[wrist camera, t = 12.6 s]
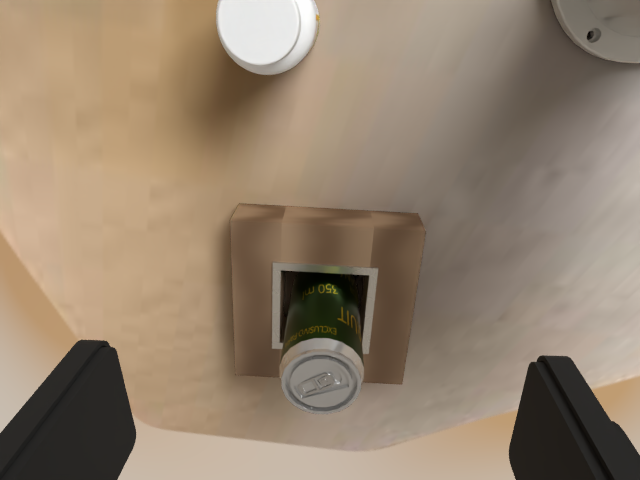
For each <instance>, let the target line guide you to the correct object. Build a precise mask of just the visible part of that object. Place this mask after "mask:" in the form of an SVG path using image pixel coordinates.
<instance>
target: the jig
mask: <svg viewBox="0 0 640 480" xmlns="http://www.w3.org/2000/svg"><path fill="white" fill-rule="evenodd" d="M425 234H426V230H425V228H424V226H423V224H422V221H421V219H420V217H419V215H418V213H400V212H382V211H364V210H346V209H328V208H310V207H292V206H274V205H256V204H239V205H238V206H237V208H236V210H235V212H234V214H233V216H232V218H231V219H230V236H231V265H232V295H233V324H234V353H235V375H246V376H263V377H280V371H279V366H280V360H281V353H282V349H272V286H273V261H274V262H291V263H309V264H327V265H345V266H362V267H378V276H377V285H376V294H375V302H374V311H373V320H372V329H371V338H370V346H369V354H363V361H364V379H363V381H362V382H367V383H384V384H402V382H403V375H404V369H405V363H406V356H407V350H408V343H409V337H410V330H411V324H412V318H413V311H414V305H415V298H416V292H417V285H418V279H419V273H420V266H421V260H422V253H423V247H424V241H425ZM368 281H369V275H364V282H363V292H362V302H361V312H360V326H361V338H363V329H364V319H365V310H366V300H367V291H368ZM284 296H285V271H284V270H281V298H280V341H284V335H285V329H286V323H287V317H284Z"/></svg>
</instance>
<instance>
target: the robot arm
mask: <svg viewBox="0 0 640 480" xmlns="http://www.w3.org/2000/svg"><path fill="white" fill-rule="evenodd" d="M551 2H552V5H553V9H554V13H555V15H556V17H557V19H558V21H559V23H560V25H561V27H562V29H563V30H564V32H565V33H566V34H567V35H568V36H569V37H570V38H571V40H572V41H573V42H574V43H575V44H576V45H578V46H579V47H581V48H582V49H583V50H585V51H586V52H588V53H589V54H592V55H594V56H597V57H599V58H602V59H604V60H610V61H616V62H625V63H640V0H551ZM589 31H590V33H591V35H590V37H589V38H588V39H587V34H588V32H589ZM135 439H136V429H135V425H134V421H133V417H132V413H131V408H130V404H129V400H128V396H127V392H126V388H125V384H124V379H123V375H122V371H121V367H120V363H119V359H118V355H117V351H116V349H115V348H113V347H110V345H109V343H108V342H107V341H100V340H80V341H78V342H77V343H76V344H75V345H74V346H73V347H72V348H71V350H70V351H69V352H68V353H67V354H66V356H65V357H64V358H63V359H62V360H61V362H60V363H59V364H58V365H57V366H56V368H55V369H54V370H53V371H52V372H51V374H50V375H49V376H48V377H47V378H46V380H45V381H44V382H43V383H42V384H41V386H40V387H39V388H38V389H37V390H36V391H35V393H34V394H33V395H32V396H31V397H30V399H29V400H28V401H27V402H26V403H25V405H24V406H23V407H22V408H21V409H20V410H19V412H18V413H17V414H16V415H15V416H14V418H13V419H12V420H11V421H10V423H9V424H8V425H7V426H6V427H5V428H4V430H3V431H2V432H1V433H0V480H117V479H118V477H119V475H120V473H121V471H122V469H123V467H124V465H125V463H126V461H127V459H128V457H129V455H130V453H131V451H132V449H133V446H134V443H135ZM509 459H510V464H511V467H512V470H513V473H514V476H515V479H516V480H640V455H639V454H638V452H637V451H636V449H635V447H634V446H633V445H632V443H631V441H630V440H629V438H628V437H627V435H626V434H625V432H624V431H623V430H622V429H621V427H620V426H619V425H618V424H616V423H615V422H613V421H611V420H610V419H609V417H608V416H607V414H606V412H605V411H604V409H603V408H602V406H601V405H600V403H599V401H598V400H597V398H596V397H595V395H594V394H593V392H592V390H591V389H590V387H589V386H588V384H587V383H586V381H585V379H584V378H583V376H582V375H581V373H580V372H579V370H578V369H577V367H576V365H575V364H574V362H573V361H572V360H571V358H569V357H567V356H539V358H538V359H537V362H531V363H530V364H529V367H528V371H527V375H526V379H525V384H524V388H523V392H522V396H521V400H520V405H519V409H518V413H517V417H516V421H515V426H514V430H513V434H512V439H511V442H510V447H509Z"/></svg>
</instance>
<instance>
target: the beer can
mask: <svg viewBox="0 0 640 480" xmlns="http://www.w3.org/2000/svg"><path fill="white" fill-rule="evenodd" d="M279 371H280V379H281V383H282V390H283V392H284V394H285V396H286V398H287V399H288V400H289V401H290V402H291V403H292V404H293V405H294V406H296V407H298V408H299V409H301V410H303V411H306V412H310V413H313V414H330V413H335V412H339V411H341V410H343V409H345V408H347V407H349V406H350V405H351V404H352V403H353V402H354V401H355V400H356V399H357V397H358V395H359V393H360V390H361V384H362V381H363V379H364V361H363V349H362V338H361V326H360V314H359V303H358V291H357V284H356V281H355V278H354V276H353V275H352V274H337V273H319V272H302V271H300V272H299V273H298V274H297V275H296V277H295V279H294V282H293V286H292V292H291V298H290V304H289V310H288V317H287V323H286V329H285V335H284V341H283V347H282V353H281V360H280V366H279Z"/></svg>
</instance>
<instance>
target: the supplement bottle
mask: <svg viewBox="0 0 640 480" xmlns="http://www.w3.org/2000/svg"><path fill="white" fill-rule="evenodd" d="M319 24H320V23H319V13H318V9H317V6H316V3H315V1H314V0H219V1H218V5H217V11H216V25H217V31H218V35H219V38H220V41H221V43H222V45H223V47H224V49H225V50H226V52H227V53H228V55H229V56H230V57H231V58H232V59H233V60H234V61H235V62H236V63H237V64H238V65H240V66H241V67H243V68H244V69H246V70H248V71H250V72H253V73H257V74H262V75H274V74H279V73H283V72H285V71H288V70H290V69H291V68H293V67H294V66H296V65H297V64H298V63H299V62H300V61H302V59H303V58H304V57H305V56H306V55H307V54H308V53H309V52H310V50H311V49H312V47H313V46H314V44H315V42H316V39H317V36H318V32H319Z"/></svg>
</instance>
